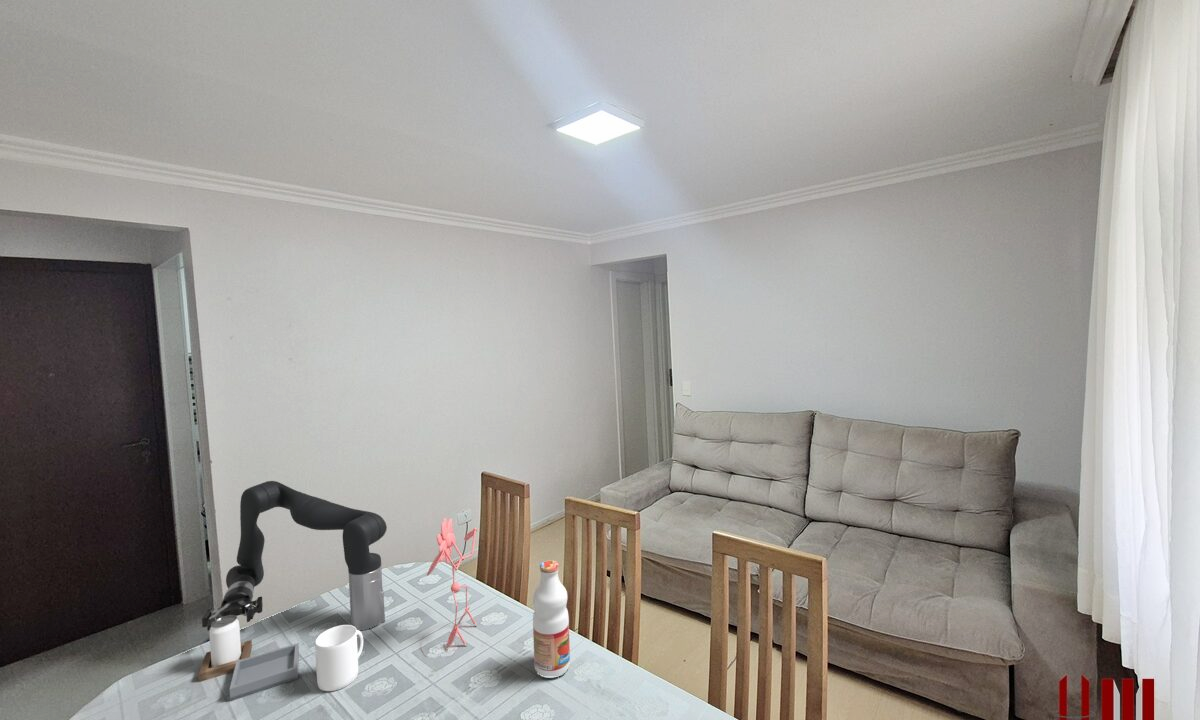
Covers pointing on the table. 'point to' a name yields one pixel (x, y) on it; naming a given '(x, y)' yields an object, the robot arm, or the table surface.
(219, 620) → the can
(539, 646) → the fruit juice
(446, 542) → the figurine
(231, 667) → the walnut collar
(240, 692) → the grey shallow rectangular tray
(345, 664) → the mug
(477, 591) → the table surface
